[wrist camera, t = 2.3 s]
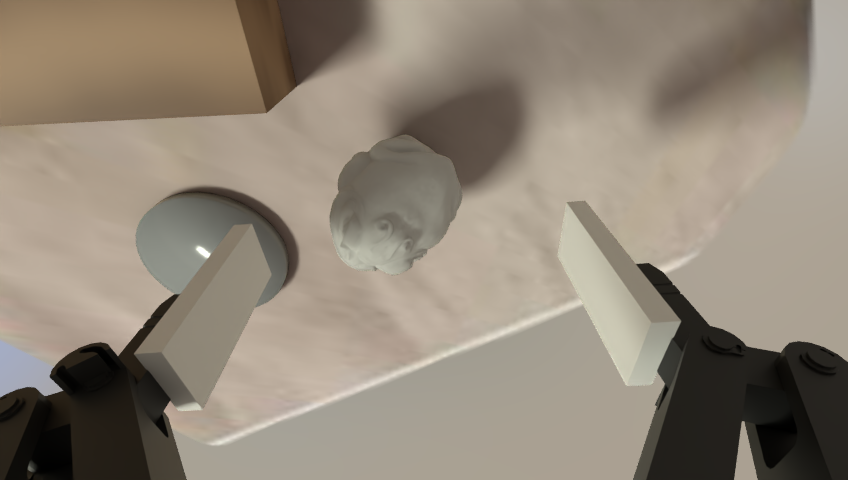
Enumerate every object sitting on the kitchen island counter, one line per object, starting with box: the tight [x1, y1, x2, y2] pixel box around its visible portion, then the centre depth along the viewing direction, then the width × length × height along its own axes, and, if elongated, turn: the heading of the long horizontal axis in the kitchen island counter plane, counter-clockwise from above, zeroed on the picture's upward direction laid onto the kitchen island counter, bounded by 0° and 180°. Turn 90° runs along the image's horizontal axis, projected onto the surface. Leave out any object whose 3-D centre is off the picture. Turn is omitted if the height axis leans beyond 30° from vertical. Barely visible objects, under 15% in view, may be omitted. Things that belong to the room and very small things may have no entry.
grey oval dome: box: [136, 192, 289, 307], centre depth 24 cm, size 9×9×1 cm
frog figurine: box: [330, 135, 462, 275], centre depth 18 cm, size 6×7×7 cm
